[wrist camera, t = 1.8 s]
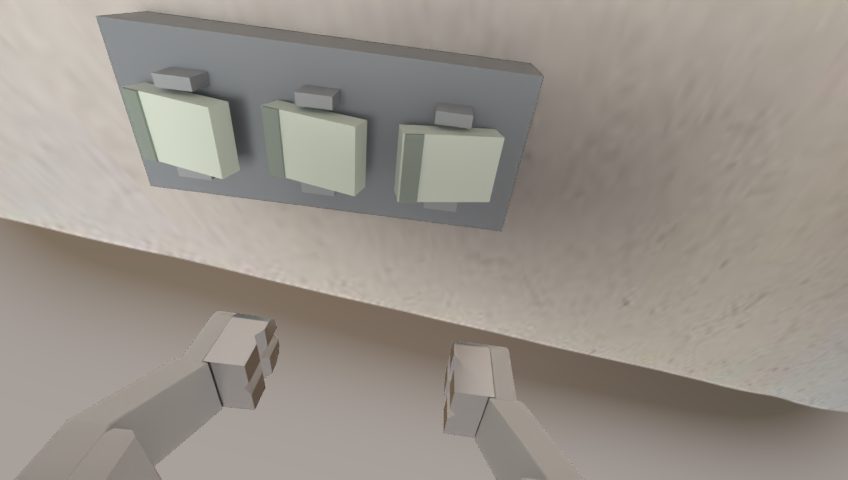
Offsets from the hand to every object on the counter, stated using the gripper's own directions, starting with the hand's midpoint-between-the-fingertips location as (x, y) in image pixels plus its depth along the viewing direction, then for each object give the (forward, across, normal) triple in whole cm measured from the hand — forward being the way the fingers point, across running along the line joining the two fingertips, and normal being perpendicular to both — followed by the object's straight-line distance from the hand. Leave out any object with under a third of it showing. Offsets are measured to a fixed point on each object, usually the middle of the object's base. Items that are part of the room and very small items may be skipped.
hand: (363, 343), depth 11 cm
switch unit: (+19, +5, 0) cm, 20 cm away
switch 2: (+13, +5, 0) cm, 14 cm away
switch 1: (+13, +13, 0) cm, 18 cm away
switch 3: (+13, -2, 0) cm, 13 cm away
